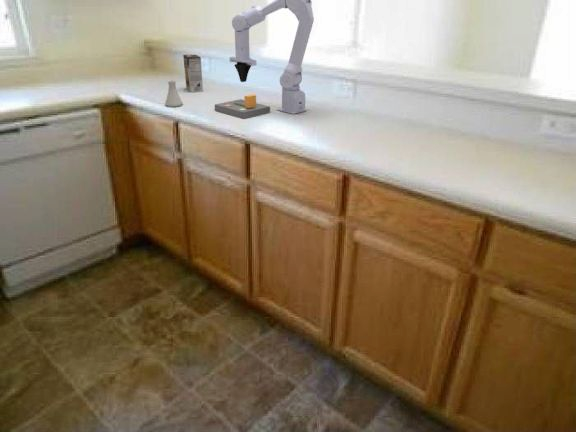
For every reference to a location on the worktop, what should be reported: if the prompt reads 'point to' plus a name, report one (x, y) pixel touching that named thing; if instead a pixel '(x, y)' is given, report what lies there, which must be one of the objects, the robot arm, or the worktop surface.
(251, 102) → the block
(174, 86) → the flask
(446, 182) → the worktop surface
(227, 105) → the breaker panel
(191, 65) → the coffee box
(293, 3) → the robot arm
